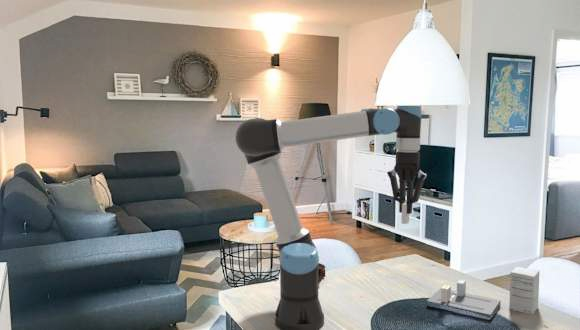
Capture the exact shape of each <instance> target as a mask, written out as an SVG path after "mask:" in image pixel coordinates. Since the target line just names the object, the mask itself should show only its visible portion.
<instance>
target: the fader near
mask: <svg viewBox="0 0 580 330" xmlns="http://www.w3.org/2000/svg"><path fill="white" fill-rule="evenodd" d="M451 287H452V286H451V285H448V284H447V285H446V284H444V285H443V286H441V302H446V303H447V302H448V301H449V300H450V296H451V289H452V288H451Z"/></svg>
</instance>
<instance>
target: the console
mask: <svg viewBox="0 0 580 330" xmlns="http://www.w3.org/2000/svg"><path fill="white" fill-rule="evenodd" d="M441 288H442V287H441ZM441 288H439V289H438V290H437V291H435V293H434V294H433V295H431V296H430V297H429V298H428V299H427V300H426V303H427V302H432V303H437V304H441V305H445V306H448V307H452V308H455V309H460V310H465V311H469V312H473V313H476V314H479V315H482V316H486V317H489V318H491V316H492V315H493V314H494V313H495V314H496V313H497V312H498V310H499V309H500V307H501V301H502V300H501V299H497V298H496V299H495V298H491V297H486V296H480V295H476V294H471V293H465V295H464V296H463V297H461V296H457V290H451V296H450V300H449V301H448V302H447V303H446V302H441Z"/></svg>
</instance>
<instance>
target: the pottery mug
mask: <svg viewBox="0 0 580 330" xmlns="http://www.w3.org/2000/svg"><path fill="white" fill-rule="evenodd" d="M323 277H325V278H326V265H324V264H322V263H320V262H319V263H318V283H319V282H322V281H323V279H324V278H323Z"/></svg>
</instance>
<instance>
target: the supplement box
mask: <svg viewBox="0 0 580 330" xmlns="http://www.w3.org/2000/svg"><path fill="white" fill-rule="evenodd" d="M509 277H510V279H509V280H510V281H509V282H510V283H509V306H508V307H509V309H510V310H511V311H516V312H519V313H520V312H521V313H525V314H529V315H534V314H535V312H536V311H537V309H538V308H539V293H540V292H539V291H540V288H539V287H540V270H538V269H533V268H526V267H521V266H515V267H514V269H512V271H510V276H509Z"/></svg>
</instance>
